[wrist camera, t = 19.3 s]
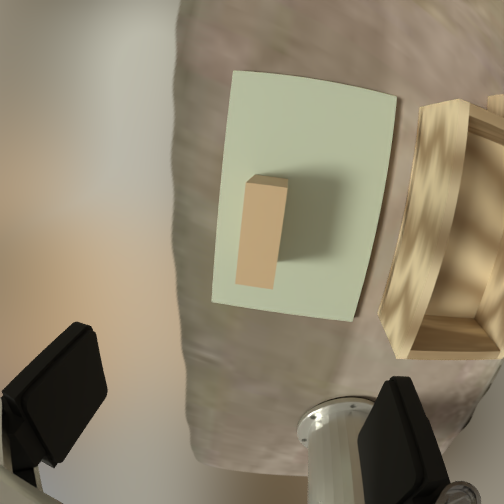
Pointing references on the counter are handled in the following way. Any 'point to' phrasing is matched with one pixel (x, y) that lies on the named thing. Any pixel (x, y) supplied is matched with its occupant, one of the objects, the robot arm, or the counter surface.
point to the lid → (300, 193)
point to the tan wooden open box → (451, 239)
